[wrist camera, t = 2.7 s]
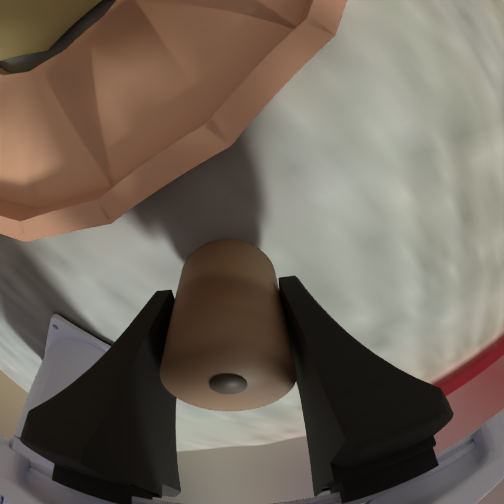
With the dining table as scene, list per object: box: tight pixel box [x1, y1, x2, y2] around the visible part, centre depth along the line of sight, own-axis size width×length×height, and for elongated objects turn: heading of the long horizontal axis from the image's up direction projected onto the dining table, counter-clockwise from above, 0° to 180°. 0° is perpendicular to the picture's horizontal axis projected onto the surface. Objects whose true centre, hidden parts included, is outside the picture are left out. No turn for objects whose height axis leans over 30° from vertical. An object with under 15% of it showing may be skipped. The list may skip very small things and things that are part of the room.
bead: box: [160, 240, 297, 411], centre depth 9 cm, size 4×4×5 cm
